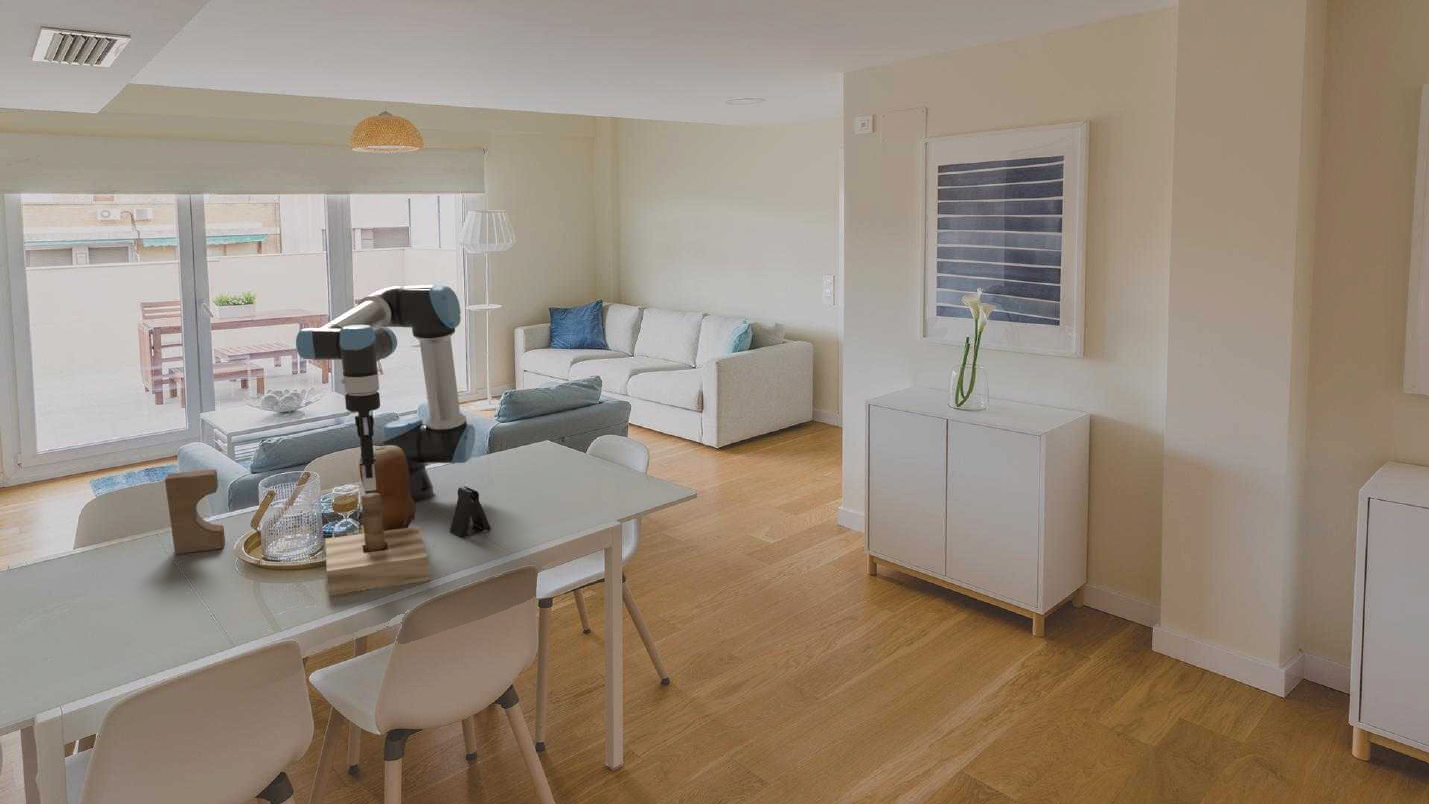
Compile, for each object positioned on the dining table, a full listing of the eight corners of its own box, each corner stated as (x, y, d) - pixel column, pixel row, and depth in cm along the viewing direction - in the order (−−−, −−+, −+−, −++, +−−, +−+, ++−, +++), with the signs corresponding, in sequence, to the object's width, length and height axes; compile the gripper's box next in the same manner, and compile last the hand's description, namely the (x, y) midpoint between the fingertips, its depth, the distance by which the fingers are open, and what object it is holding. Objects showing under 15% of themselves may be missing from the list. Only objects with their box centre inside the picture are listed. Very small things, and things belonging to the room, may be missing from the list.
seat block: (327, 561, 232) (325, 538, 231) (419, 548, 241) (418, 526, 239) (329, 595, 213) (326, 571, 211) (429, 580, 221) (427, 556, 220)
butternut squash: (364, 532, 252) (356, 442, 247) (416, 525, 257) (409, 437, 252) (365, 550, 240) (357, 456, 234) (420, 543, 244) (413, 450, 239)
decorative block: (225, 541, 245) (217, 468, 241) (223, 549, 240) (214, 474, 236) (178, 547, 241) (168, 473, 237) (174, 555, 236) (164, 479, 232)
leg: (366, 564, 228) (360, 494, 224) (386, 562, 229) (380, 492, 225) (367, 571, 224) (361, 499, 220) (387, 568, 225) (381, 497, 221)
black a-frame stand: (461, 538, 248) (458, 494, 245) (449, 532, 252) (447, 489, 250) (491, 529, 254) (488, 487, 252) (479, 524, 258) (476, 482, 256)
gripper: (343, 388, 221) (352, 483, 226) (345, 399, 210) (354, 499, 215) (377, 385, 224) (384, 480, 229) (381, 396, 212) (388, 495, 218)
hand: (370, 489), depth 222 cm, fingers closed
